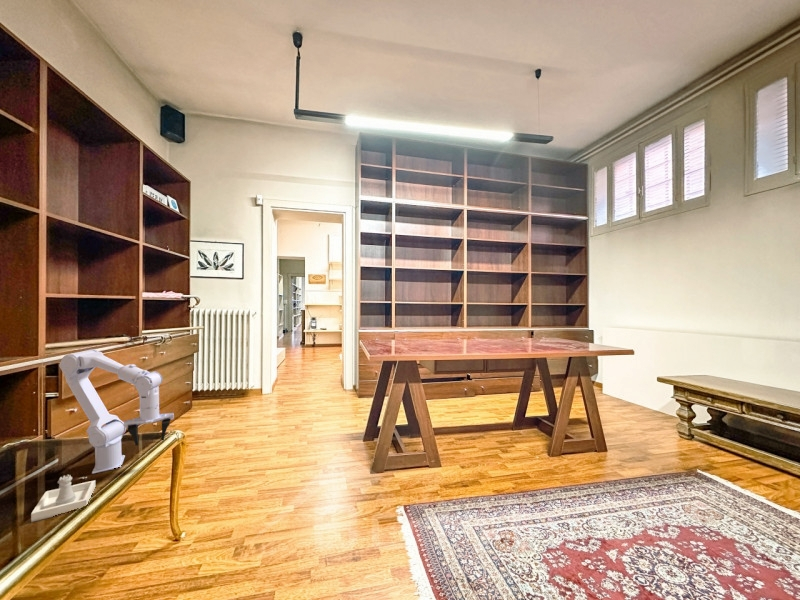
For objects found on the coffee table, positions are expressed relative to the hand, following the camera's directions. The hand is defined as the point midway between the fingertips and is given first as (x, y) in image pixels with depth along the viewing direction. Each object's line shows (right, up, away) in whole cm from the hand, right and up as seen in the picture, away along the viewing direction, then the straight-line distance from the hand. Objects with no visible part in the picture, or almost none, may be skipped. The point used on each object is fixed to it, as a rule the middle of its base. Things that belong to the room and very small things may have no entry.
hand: (150, 441), depth 122 cm
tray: (-10, -10, -20) cm, 25 cm away
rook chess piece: (-10, -10, -20) cm, 25 cm away
